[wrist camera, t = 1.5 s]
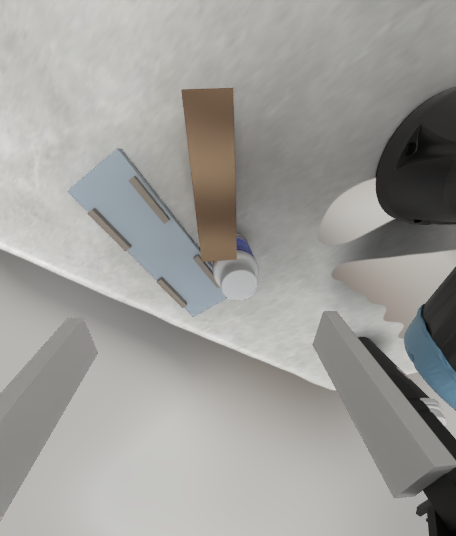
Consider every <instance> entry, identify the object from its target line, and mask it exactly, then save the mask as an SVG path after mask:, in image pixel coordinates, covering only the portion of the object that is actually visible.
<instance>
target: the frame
mask: <svg viewBox="0 0 456 536" xmlns="http://www.w3.org/2000/svg"><path fill="white" fill-rule="evenodd" d="M182 98H183V107H184V115H185V124H186V132H187V141H188V149H189V158H190V166H191V175H192V183H193V192H194V200H195V209H196V217H197V226H198V234H199V242H200V251H201V259H202V262H210V261H224V260H237V240H236V195H235V150H234V106H233V88H219V89H187V90H182Z"/></svg>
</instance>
